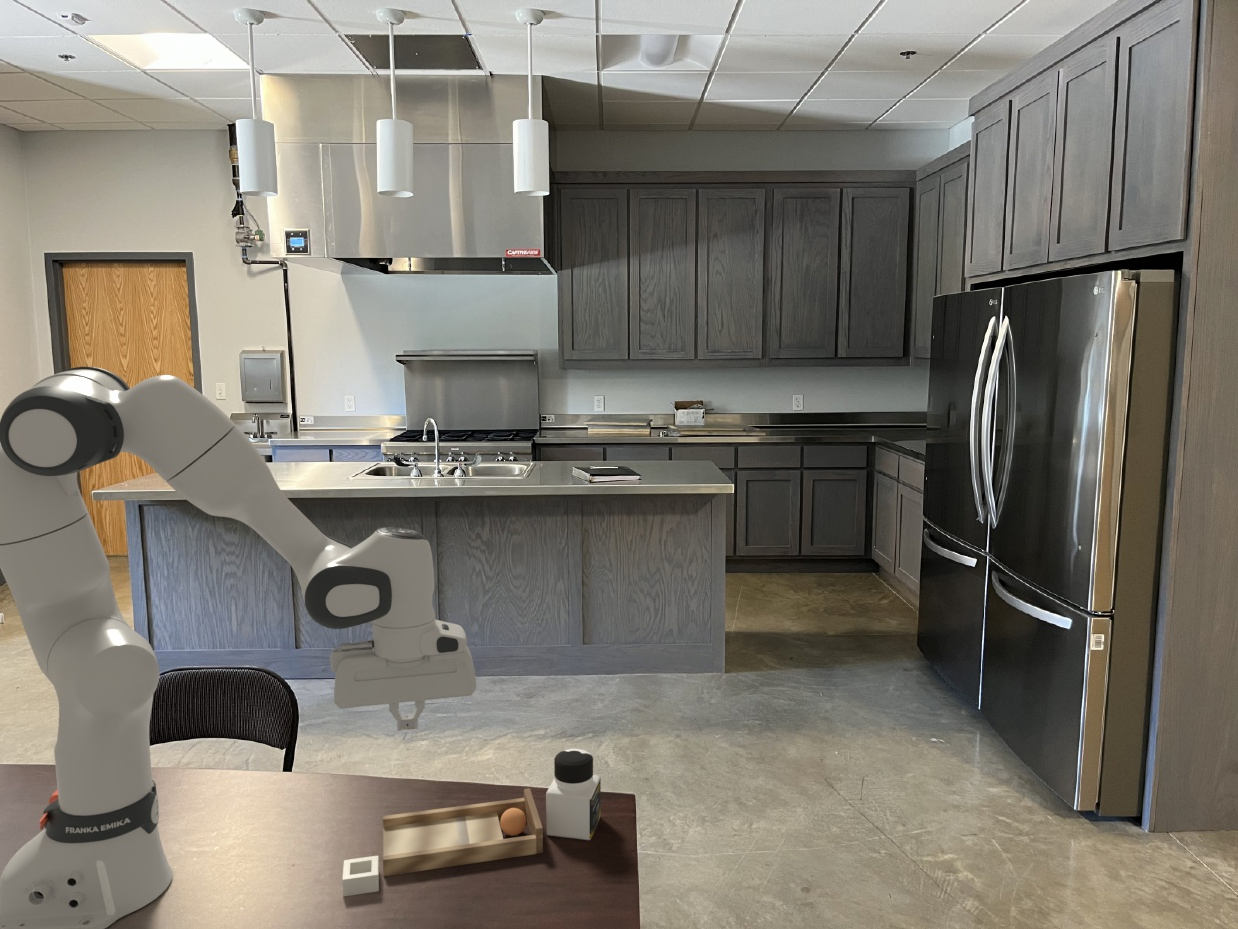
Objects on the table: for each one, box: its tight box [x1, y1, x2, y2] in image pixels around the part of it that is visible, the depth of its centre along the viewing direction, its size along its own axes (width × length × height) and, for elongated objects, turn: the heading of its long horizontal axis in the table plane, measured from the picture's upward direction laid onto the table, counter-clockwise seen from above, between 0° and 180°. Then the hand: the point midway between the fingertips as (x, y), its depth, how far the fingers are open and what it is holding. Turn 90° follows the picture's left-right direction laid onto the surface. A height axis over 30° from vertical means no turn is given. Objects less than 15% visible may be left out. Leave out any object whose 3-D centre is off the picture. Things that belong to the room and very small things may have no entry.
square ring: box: [342, 855, 380, 898], centre depth 122 cm, size 5×5×2 cm
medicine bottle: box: [545, 748, 602, 841], centre depth 137 cm, size 7×7×12 cm
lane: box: [382, 787, 544, 877], centre depth 133 cm, size 23×12×4 cm, turn 105°
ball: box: [499, 808, 527, 837], centre depth 135 cm, size 4×4×4 cm
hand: (407, 728), depth 128 cm, fingers closed
